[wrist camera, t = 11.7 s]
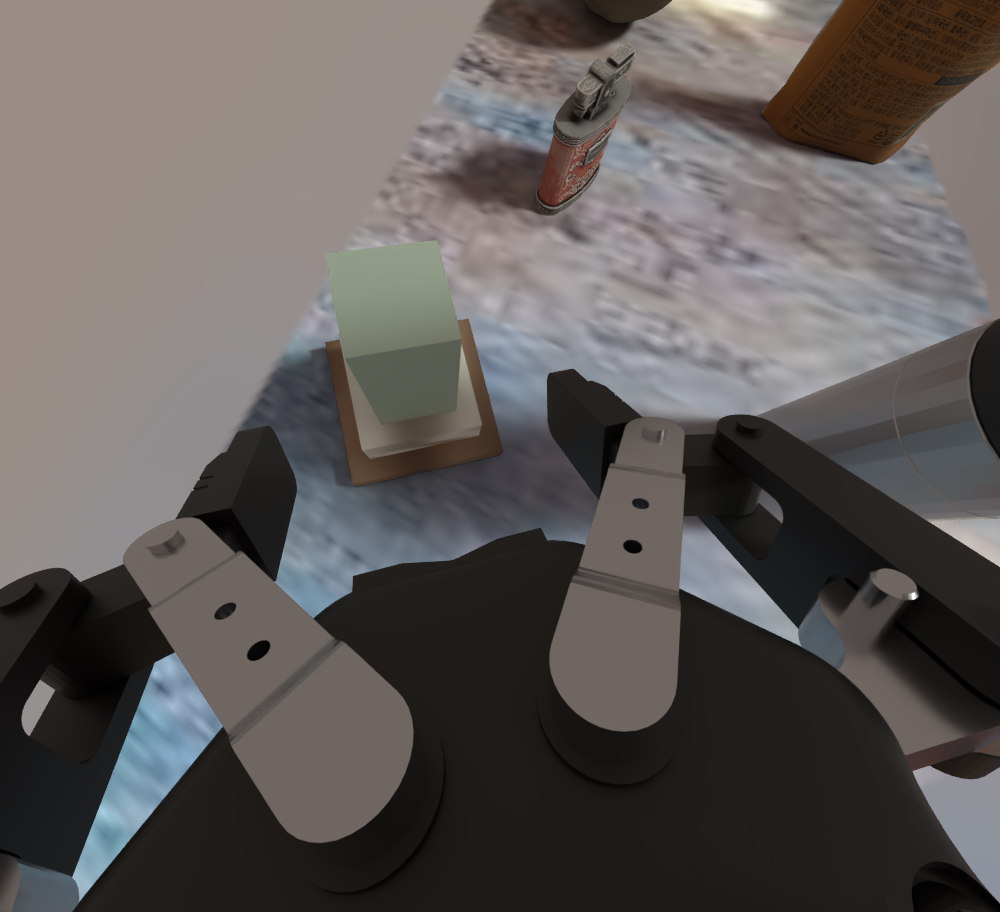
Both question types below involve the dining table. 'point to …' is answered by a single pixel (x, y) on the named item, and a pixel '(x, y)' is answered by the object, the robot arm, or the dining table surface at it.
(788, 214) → the dining table surface
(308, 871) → the robot arm
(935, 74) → the pancake mix bag
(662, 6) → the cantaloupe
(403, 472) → the build base
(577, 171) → the lighter
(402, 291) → the green post
